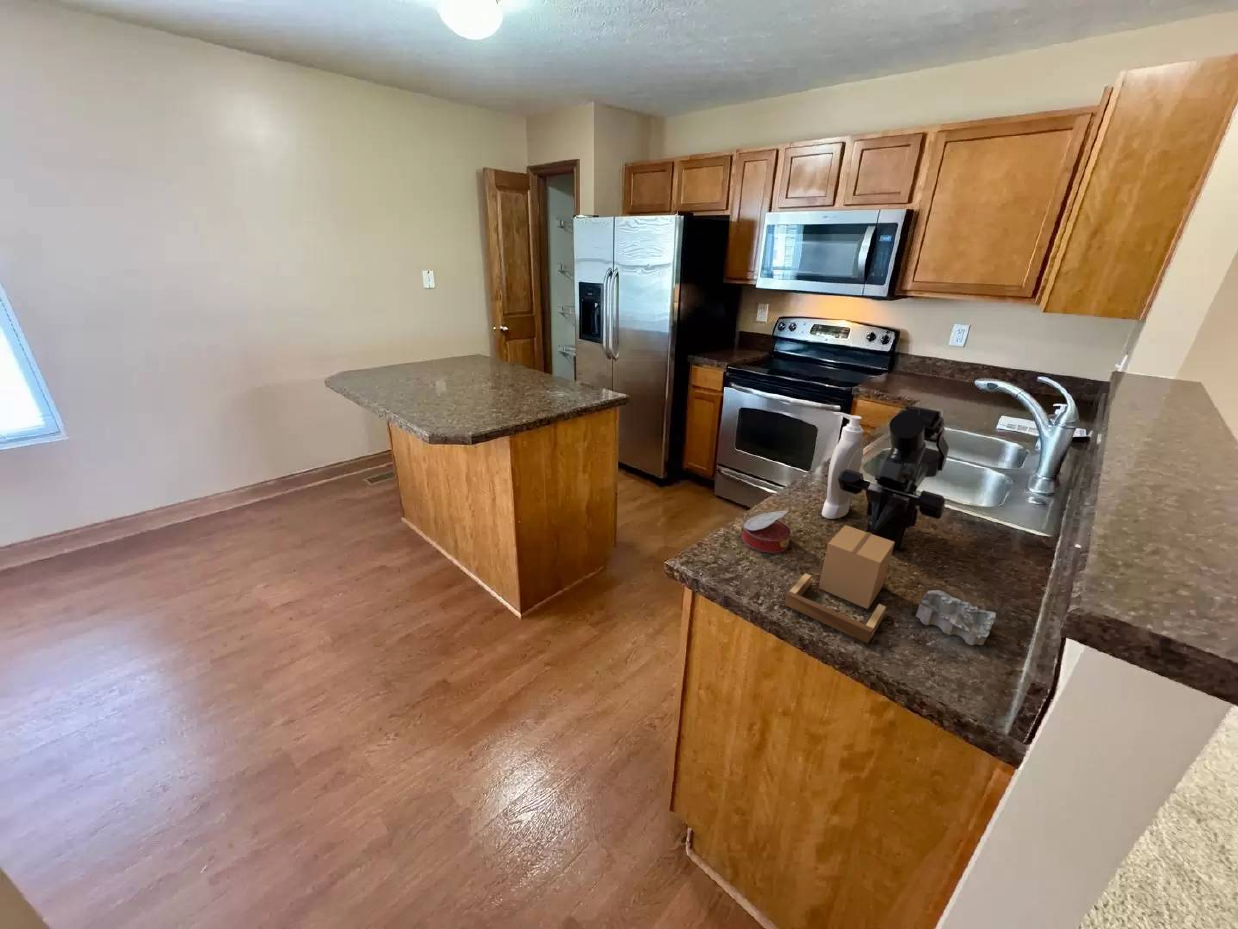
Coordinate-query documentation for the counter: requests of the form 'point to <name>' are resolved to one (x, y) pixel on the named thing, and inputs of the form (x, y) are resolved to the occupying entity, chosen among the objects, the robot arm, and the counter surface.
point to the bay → (832, 613)
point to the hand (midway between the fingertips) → (873, 531)
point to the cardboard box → (856, 565)
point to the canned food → (767, 532)
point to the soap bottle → (843, 467)
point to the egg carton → (955, 616)
